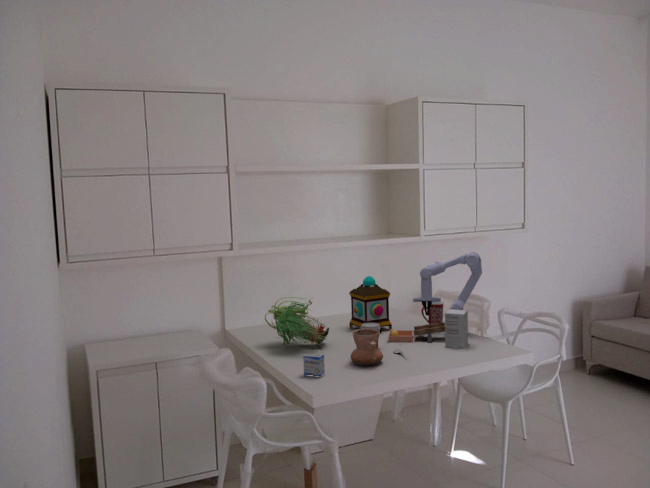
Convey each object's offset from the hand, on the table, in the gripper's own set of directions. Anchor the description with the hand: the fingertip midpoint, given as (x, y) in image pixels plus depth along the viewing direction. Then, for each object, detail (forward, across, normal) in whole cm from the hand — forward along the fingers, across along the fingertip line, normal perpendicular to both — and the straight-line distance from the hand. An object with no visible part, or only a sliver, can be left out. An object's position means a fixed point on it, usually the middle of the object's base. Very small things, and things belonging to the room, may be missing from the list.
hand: (427, 315), depth 299 cm
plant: (+10, +61, +34) cm, 71 cm away
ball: (+7, +17, +14) cm, 23 cm away
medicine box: (+10, +47, +74) cm, 88 cm away
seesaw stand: (+9, -1, +14) cm, 17 cm away
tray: (+9, +13, +14) cm, 21 cm away
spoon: (+10, +11, +45) cm, 47 cm away
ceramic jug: (+10, +27, +55) cm, 62 cm away
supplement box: (+10, -14, +25) cm, 30 cm away
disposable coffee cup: (+10, +27, +33) cm, 44 cm away
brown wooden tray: (+6, -2, +11) cm, 13 cm away
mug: (+10, -3, -13) cm, 16 cm away
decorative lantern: (+10, +31, -6) cm, 33 cm away
